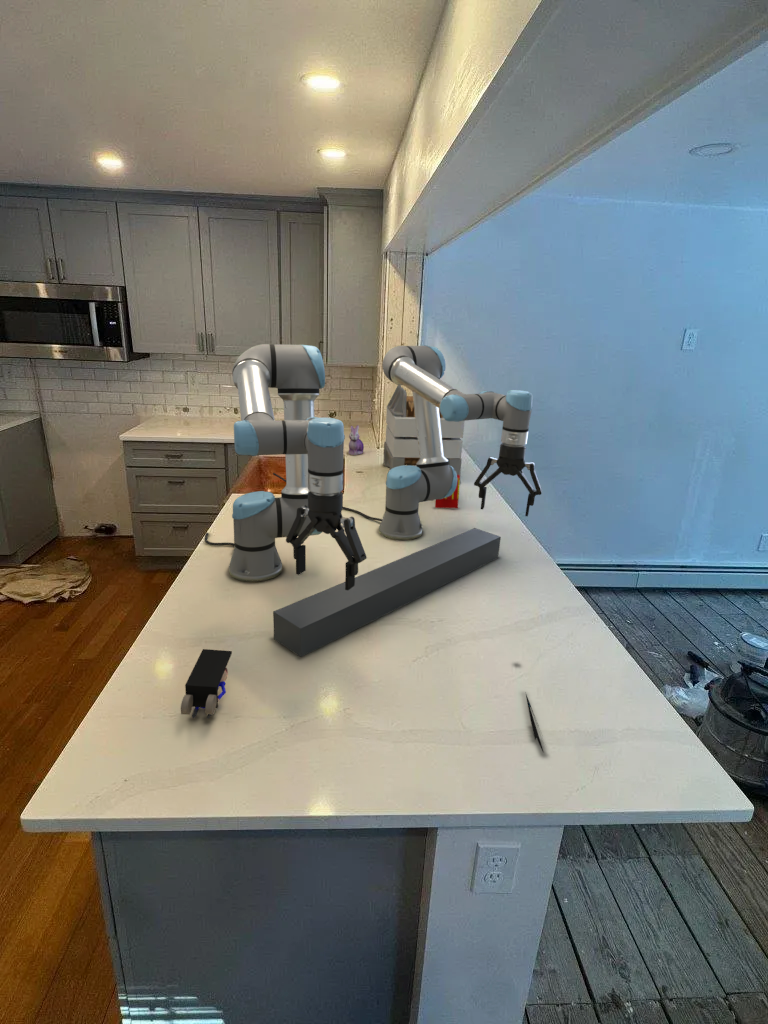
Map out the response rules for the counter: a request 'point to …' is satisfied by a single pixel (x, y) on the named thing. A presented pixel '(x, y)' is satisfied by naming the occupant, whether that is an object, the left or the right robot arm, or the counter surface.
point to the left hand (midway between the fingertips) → (324, 580)
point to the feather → (534, 723)
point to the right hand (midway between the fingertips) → (504, 511)
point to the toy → (449, 498)
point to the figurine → (355, 442)
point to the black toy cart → (206, 682)
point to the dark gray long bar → (380, 591)
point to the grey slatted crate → (404, 434)
